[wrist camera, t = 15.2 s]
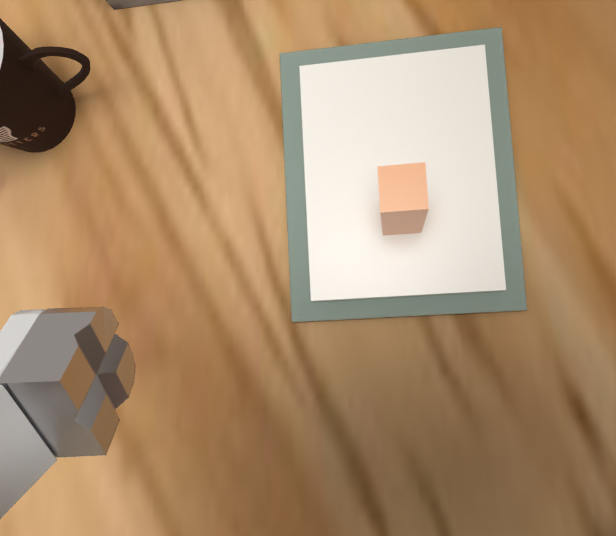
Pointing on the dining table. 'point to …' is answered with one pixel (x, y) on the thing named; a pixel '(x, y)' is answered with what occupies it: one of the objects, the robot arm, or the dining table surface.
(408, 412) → the dining table surface
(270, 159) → the dining table surface
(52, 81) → the coffee mug
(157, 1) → the tub
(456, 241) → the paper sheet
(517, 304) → the mat
